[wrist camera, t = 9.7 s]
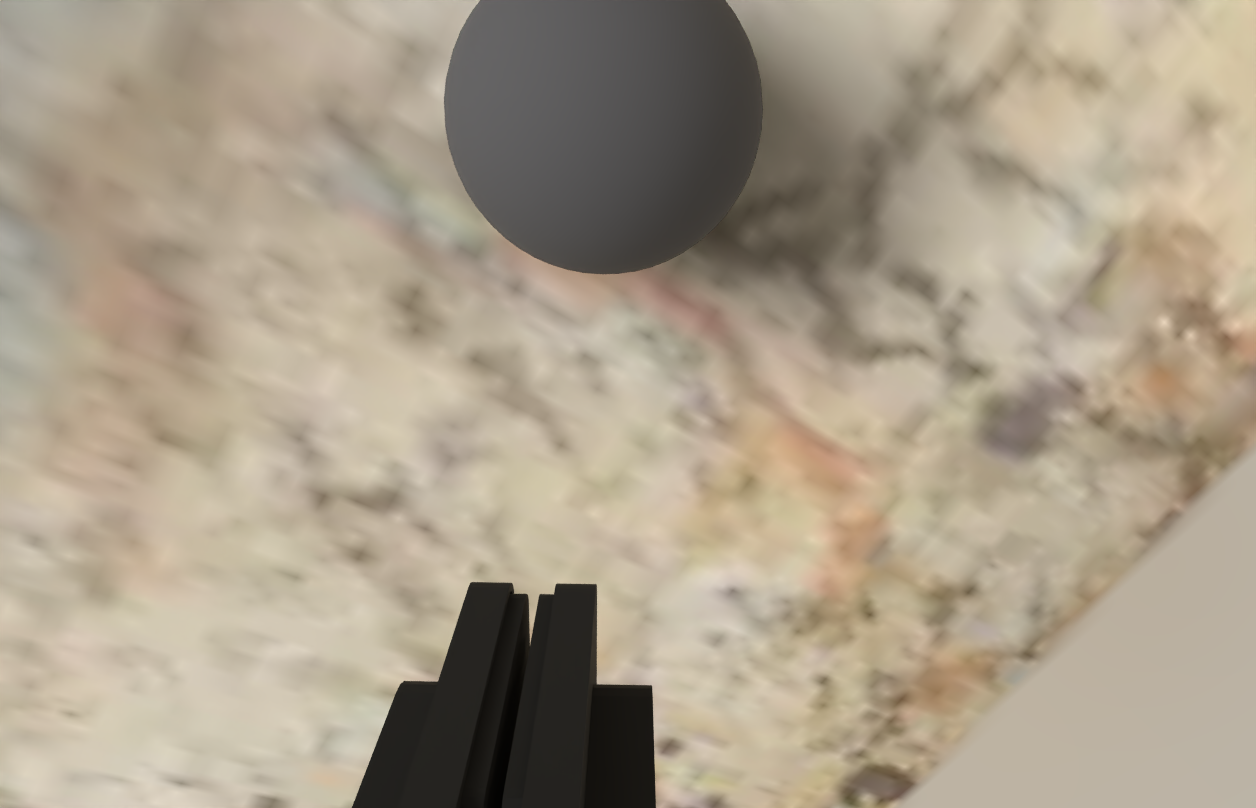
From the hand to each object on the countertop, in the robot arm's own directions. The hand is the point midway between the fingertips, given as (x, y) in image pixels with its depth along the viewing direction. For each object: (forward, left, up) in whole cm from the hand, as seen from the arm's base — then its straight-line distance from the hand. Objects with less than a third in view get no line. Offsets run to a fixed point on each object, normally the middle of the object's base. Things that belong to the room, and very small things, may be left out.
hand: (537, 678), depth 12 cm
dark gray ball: (+7, -1, -7) cm, 9 cm away
